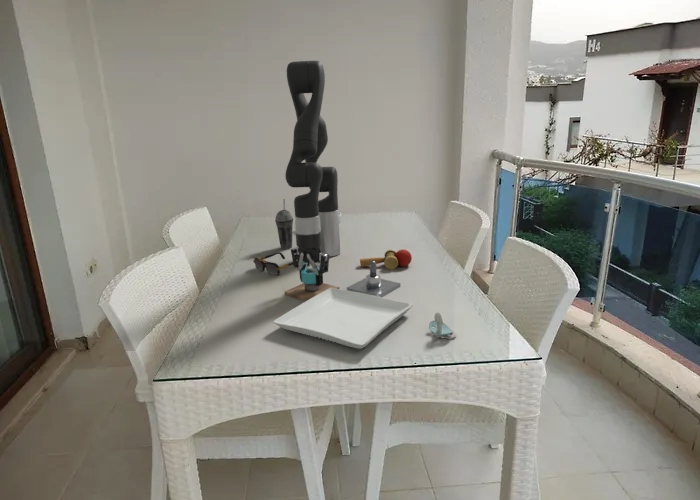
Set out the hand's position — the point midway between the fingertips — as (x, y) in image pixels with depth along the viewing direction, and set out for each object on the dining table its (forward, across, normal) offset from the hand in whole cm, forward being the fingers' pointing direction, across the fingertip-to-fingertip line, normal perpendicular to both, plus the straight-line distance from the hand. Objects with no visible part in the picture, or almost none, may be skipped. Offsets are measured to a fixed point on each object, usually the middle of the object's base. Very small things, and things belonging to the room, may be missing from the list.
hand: (311, 283), depth 150 cm
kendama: (+4, +5, +32) cm, 33 cm away
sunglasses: (+4, -26, +12) cm, 29 cm away
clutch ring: (-1, 0, 0) cm, 1 cm away
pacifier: (+4, +46, -2) cm, 47 cm away
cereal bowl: (+3, -49, +61) cm, 78 cm away
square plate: (+4, +22, -11) cm, 25 cm away
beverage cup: (+3, -42, +30) cm, 52 cm away
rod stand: (+3, 0, 0) cm, 3 cm away
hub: (+3, +14, +13) cm, 19 cm away
